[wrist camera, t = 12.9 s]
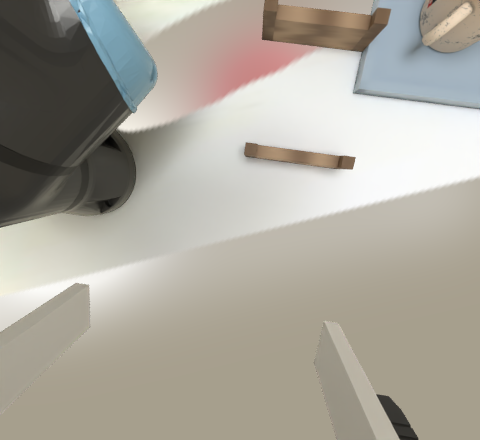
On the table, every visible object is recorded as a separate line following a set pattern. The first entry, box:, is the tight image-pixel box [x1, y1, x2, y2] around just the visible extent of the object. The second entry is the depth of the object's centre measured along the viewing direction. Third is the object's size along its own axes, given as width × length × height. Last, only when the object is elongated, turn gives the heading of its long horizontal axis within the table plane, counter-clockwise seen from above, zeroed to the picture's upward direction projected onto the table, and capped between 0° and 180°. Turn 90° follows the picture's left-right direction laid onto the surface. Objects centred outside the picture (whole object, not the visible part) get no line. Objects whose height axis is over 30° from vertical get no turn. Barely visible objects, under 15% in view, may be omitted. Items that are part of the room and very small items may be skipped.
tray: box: [353, 0, 480, 109], centre depth 30 cm, size 20×18×2 cm
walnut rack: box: [244, 0, 391, 169], centre depth 31 cm, size 14×18×6 cm
